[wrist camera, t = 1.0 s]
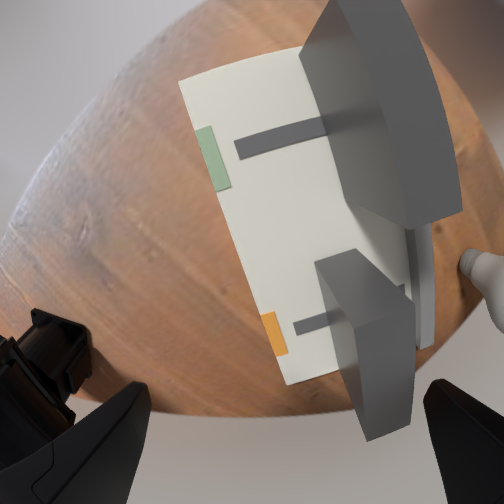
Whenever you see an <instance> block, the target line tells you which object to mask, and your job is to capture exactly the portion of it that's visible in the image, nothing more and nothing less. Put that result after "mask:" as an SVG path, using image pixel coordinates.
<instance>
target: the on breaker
mask: <svg viewBox="0 0 504 504" xmlns="http://www.w3.org/2000/svg"><path fill="white" fill-rule="evenodd" d="M298 56H299V58H300V61H301V63H302V66H303V68H304V71H305V74H306V76H307V79H308V82H309V84H310V87H311V90H312V93H313V95H314V98H315V101H316V104H317V107H318V110H319V113H320V116H321V119H322V122H323V125H324V128H325V131H326V134H327V138H328V141H329V144H330V147H331V151H332V154H333V158H334V161H335V165H336V168H337V172H338V176H339V179H340V183H341V187H342V191H343V195H344V199H346V200H348V201H350V202H352V203H354V204H357V205H359V206H361V207H363V208H365V209H367V210H369V211H371V212H373V213H375V214H377V215H379V216H381V217H383V218H385V219H387V220H389V221H391V222H393V223H395V224H397V225H399V226H401V227H403V228H405V229H407V230H408V231H409V230H412V229H415V228H418V227H421V226H423V225H426V224H429V223H432V222H434V221H437V220H440V219H443V218H445V217H448V216H451V215H453V214H456V213H459V212H462V211H463V208H462V198H461V190H460V182H459V176H458V169H457V163H456V158H455V153H454V148H453V143H452V138H451V134H450V130H449V125H448V121H447V117H446V114H445V110H444V106H443V103H442V100H441V96H440V93H439V90H438V87H437V84H436V81H435V78H434V75H433V72H432V69H431V66H430V64H429V61H428V58H427V56H426V53H425V51H424V48H423V46H422V44H421V41H420V39H419V37H418V34H417V32H416V30H415V28H414V26H413V24H412V22H411V19H410V18H409V16H408V13H407V12H406V10H405V8H404V6H403V4H402V2H401V0H329V2H328V4H327V5H326V7H325V9H324V11H323V12H322V14H321V16H320V18H319V19H318V21H317V23H316V24H315V26H314V28H313V30H312V32H311V33H310V35H309V37H308V39H307V40H306V42H305V44H304V46H303V48H302V50H301V51H300V53H299V55H298Z"/></svg>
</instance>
